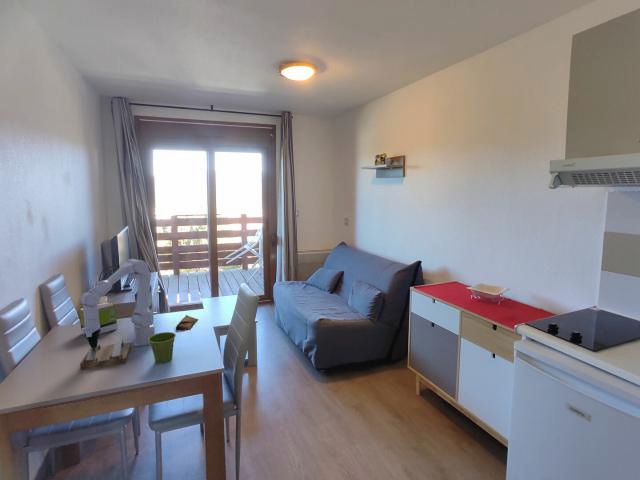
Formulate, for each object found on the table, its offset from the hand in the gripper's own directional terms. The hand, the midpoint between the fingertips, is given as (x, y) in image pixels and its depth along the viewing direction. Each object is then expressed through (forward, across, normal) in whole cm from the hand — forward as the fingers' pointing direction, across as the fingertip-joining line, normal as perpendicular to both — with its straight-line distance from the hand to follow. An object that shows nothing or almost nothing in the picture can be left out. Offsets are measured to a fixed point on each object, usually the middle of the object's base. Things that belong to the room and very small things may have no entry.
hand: (94, 346), depth 168 cm
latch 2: (+1, +2, +10) cm, 10 cm away
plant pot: (+7, +12, +30) cm, 33 cm away
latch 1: (+2, +1, 0) cm, 2 cm away
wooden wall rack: (+7, 0, +5) cm, 8 cm away
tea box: (+7, -40, -6) cm, 41 cm away
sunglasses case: (+7, -32, +41) cm, 53 cm away
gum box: (+7, -36, +18) cm, 41 cm away
